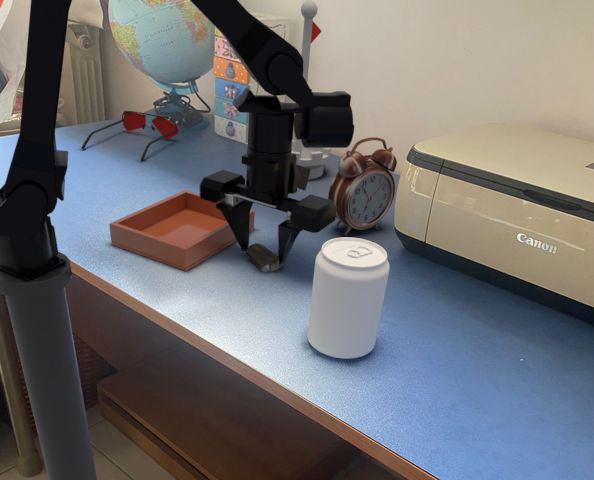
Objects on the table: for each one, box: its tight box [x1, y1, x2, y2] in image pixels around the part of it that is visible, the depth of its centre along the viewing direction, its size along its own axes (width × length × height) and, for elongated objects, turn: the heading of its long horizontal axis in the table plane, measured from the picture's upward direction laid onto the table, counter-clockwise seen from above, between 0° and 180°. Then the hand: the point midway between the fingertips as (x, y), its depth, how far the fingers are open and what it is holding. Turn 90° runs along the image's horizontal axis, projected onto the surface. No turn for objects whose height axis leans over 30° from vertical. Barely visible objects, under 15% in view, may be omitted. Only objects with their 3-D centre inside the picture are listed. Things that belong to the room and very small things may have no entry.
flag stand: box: [292, 0, 332, 181], centre depth 111 cm, size 13×13×30 cm
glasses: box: [81, 110, 180, 162], centre depth 122 cm, size 14×16×5 cm
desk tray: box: [108, 189, 256, 272], centre depth 89 cm, size 18×14×3 cm
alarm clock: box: [327, 136, 398, 236], centre depth 93 cm, size 11×5×15 cm, turn 123°
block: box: [244, 242, 283, 273], centre depth 85 cm, size 4×6×2 cm, turn 38°
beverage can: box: [306, 236, 390, 360], centre depth 66 cm, size 8×8×12 cm
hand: (263, 256), depth 84 cm, fingers closed on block, 6 cm apart
